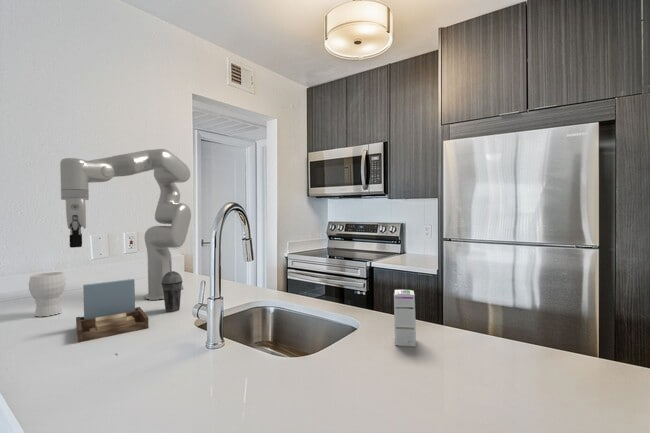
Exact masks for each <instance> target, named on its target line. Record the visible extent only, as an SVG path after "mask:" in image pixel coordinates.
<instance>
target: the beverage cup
mask: <svg viewBox="0 0 650 433" xmlns="http://www.w3.org/2000/svg"><path fill="white" fill-rule="evenodd" d="M169 265H170V272H168V273H166V274H165V275H164V277H163V279H162V283H161V284H162V288H163V293H164V299H163V300H164V307H165V308H164V309H165V312H166V313H176V312H179V311H180V309H181V296H182V295H181V293H182V290H181V287H182V286H183V278H182V275H181V274H180V273H179V272H177V271H173V269H172V270H171V260H169Z"/></svg>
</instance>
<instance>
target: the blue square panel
mask: <svg viewBox="0 0 650 433" xmlns="http://www.w3.org/2000/svg"><path fill="white" fill-rule="evenodd" d="M135 284H136V283H135V279H134V278H129V279H121V280H120V279H119V280H112V281H104V282H95V283H87V284H83V285H82V287H83V289H82V290H83V294H82V295H83V317H84V320H85V319H91V318H96V317H103V316H108V315H114V314H120V313H126V312H132V311H135V308H136V295H135V293H136V292H135V291H136V288H135V286H136V285H135Z"/></svg>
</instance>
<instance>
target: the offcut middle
mask: <svg viewBox="0 0 650 433" xmlns="http://www.w3.org/2000/svg"><path fill="white" fill-rule="evenodd" d="M134 323H135V319H134V318H133V317H132V316H128V317H127V321H123V322H117V323H111V324H105V325H99V326H96V323H95V329H96V330H97V331H98V330H103V329H108V328H113V327H119V326H124V325H129V324H134Z"/></svg>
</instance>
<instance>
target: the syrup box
mask: <svg viewBox="0 0 650 433" xmlns="http://www.w3.org/2000/svg"><path fill="white" fill-rule="evenodd" d="M415 296H416V294H415V290H412V289H394V292H393V308H394V309H393V312H394V315H393V316H394V345H395V346H399V347H413V348H414V347H415V348H416V346H417V337H416V336H417V334H416V333H417V332H416V322H417V321H416V299H415Z"/></svg>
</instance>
